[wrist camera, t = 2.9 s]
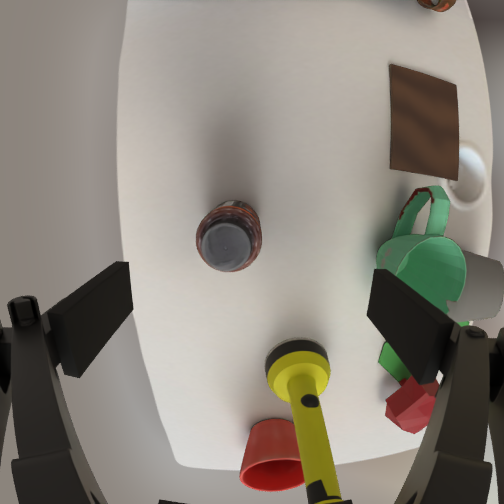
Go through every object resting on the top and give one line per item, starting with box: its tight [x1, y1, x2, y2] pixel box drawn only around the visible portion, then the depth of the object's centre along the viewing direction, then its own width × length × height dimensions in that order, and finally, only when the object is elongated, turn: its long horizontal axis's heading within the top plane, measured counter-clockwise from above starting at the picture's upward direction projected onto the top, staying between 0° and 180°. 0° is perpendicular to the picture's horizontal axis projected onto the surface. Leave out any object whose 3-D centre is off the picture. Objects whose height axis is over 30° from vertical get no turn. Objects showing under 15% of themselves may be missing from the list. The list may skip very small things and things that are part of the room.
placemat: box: [389, 64, 459, 181], centre depth 31 cm, size 14×11×1 cm
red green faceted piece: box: [379, 321, 469, 434], centre depth 35 cm, size 15×20×9 cm
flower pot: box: [240, 419, 305, 491], centre depth 39 cm, size 11×11×10 cm
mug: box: [376, 186, 467, 314], centre depth 30 cm, size 15×10×10 cm
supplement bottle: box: [196, 201, 262, 272], centre depth 29 cm, size 6×6×11 cm
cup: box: [446, 250, 504, 322], centre depth 32 cm, size 10×9×10 cm
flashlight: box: [265, 338, 343, 504], centre depth 27 cm, size 25×9×9 cm
